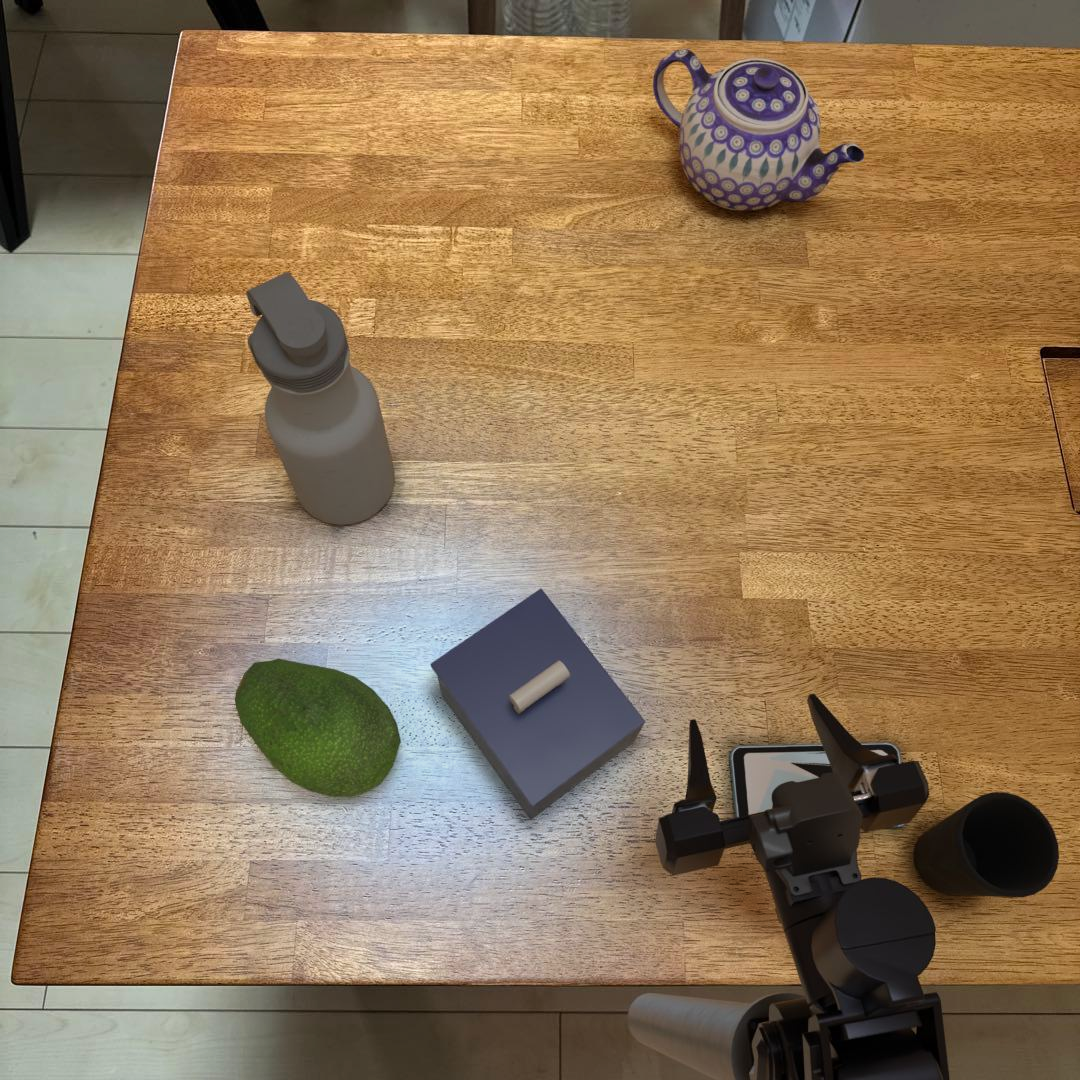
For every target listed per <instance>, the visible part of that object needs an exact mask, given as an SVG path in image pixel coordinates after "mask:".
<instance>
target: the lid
mask: <svg viewBox="0 0 1080 1080" xmlns="http://www.w3.org/2000/svg"><path fill="white" fill-rule="evenodd" d="M429 665H430V668H431V669H432V670H433V672H434V674H435V675H436V677H437V676H438V677H437V679H438V678H439V679H440V680H441V682H442V683H443V684H444V686H445V687H446V689H447V690H448V691H449V693H450V694H451V696H452V697H453V698H454V700H455V701H456V703H457V704H458V705H459V707H460V708H461V710H462V711H463V712H464V714H465V715H466V716H467V718H468V719H469V721H470V722H471V723H472V725H473V726H474V728H475V729H476V730H477V732H478V733H479V735H480V736H481V737H482V739H483V740H484V742H485V743H486V744H487V746H488V747H489V748H490V750H491V751H492V753H493V754H494V755H495V757H496V758H497V760H498V761H499V762H500V764H501V765H502V767H503V768H504V769H505V771H506V772H507V774H508V775H509V776H510V778H511V779H512V780H513V782H514V783H515V785H516V786H517V787H518V789H519V790H520V792H521V793H522V794H523V796H524V797H525V799H526V800H527V801H528V803H529V804H530V806H531V807H532V808H533V807H534V806H536V805H537V804H538V803H540V802H541V801H542V800H544V799H545V798H546V797H548V796H549V795H550V794H552V793H553V792H554V791H556V790H557V789H558V788H560V787H561V786H562V785H564V784H565V783H566V782H568V781H569V780H570V779H572V778H573V777H574V776H576V775H577V774H578V773H580V772H581V771H582V770H584V769H585V768H586V767H588V766H589V765H590V764H592V763H593V762H594V761H596V760H597V759H598V758H600V757H601V756H602V755H604V754H605V753H606V752H608V751H609V750H610V749H612V748H613V747H614V746H616V745H617V744H618V743H620V742H621V741H622V740H624V739H625V738H626V737H628V736H629V735H630V734H632V733H633V732H634V731H636V730H637V729H638V728H640V727H641V726H642V725H643V726H644V725H645V724H646V720H645V719H644V717H643V716H642V715H641V713H640V712H639V711H638V710H637V709H636V707H635V705H633V703H632V702H631V700H630V699H629V698H628V697H627V696H626V694H625V693H624V692H623V690H622V689H621V688H620V687H619V685H618V684H617V683H616V682H615V681H614V679H613V678H612V677H611V675H610V674H609V673H608V671H607V670H606V669H605V667H604V665H602V664H601V662H600V661H599V659H598V658H596V656H595V654H593V652H592V651H591V650H590V649H589V647H588V646H587V645H586V643H585V642H584V641H583V640H582V638H581V637H580V636H579V634H578V633H577V632H576V631H575V629H574V628H573V627H572V625H571V624H570V623H569V621H568V620H567V619H566V617H564V615H563V614H562V613H561V612H560V610H559V609H558V608H557V607H556V605H555V604H554V603H553V601H552V600H551V598H549V596H548V595H547V593H546V592H545V591H544V590H543V588H539V589H538V590H536V591H535V592H533V593H532V594H530V595H529V596H527V597H525V599H523V600H521V601H520V602H518V603H517V604H515V605H514V606H513V607H511V608H510V609H508V610H507V611H506V612H504V613H503V614H501V615H500V616H498V617H497V618H495V619H494V620H492V621H491V622H489V623H488V624H487V625H485V626H483V627H482V628H481V629H479V630H478V631H476V632H475V633H473V634H472V635H470V636H468V638H466V639H464V640H463V641H461V642H460V643H459V644H457V645H456V646H454V647H453V648H451V649H450V650H449V651H447V652H445V653H444V654H443V655H441V656H439V657H438V658H436V659H435V660H434V661H432V662H431V663H430V664H429Z"/></svg>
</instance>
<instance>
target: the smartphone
mask: <svg viewBox="0 0 1080 1080" xmlns="http://www.w3.org/2000/svg"><path fill="white" fill-rule="evenodd" d="M859 743H860V744H862V745H863V746H864V747H865V748H867V749H868V750H870V751H873V752H875V753H877V754H880V755H883V756H885V755H894V756H895V757H896V758H897V759H898V762H897V763H896V764H900V763H902V758H901V753H900V750H899V748H898V747H897V746H896V745H895V744H894V743H891V742H886V741H885V742H883V741H882V742H859ZM729 769H730V777H731V787H732V799H733V809H734V818H737V817H741V816H746V815H750V814H755V813H759V812H764V811H765V810H768V809H772V792H773V791H774V789H775V788H776V787H777V786H779V785H780V784H782V783H785V782H789V781H795V782H801V781H806V780H810V779H815V778H819V777H821V776H822V775H823V774H826V773H832V772H833V770H832V768H831V765H830V763H829V760H828V758H827V755H826V753H825V750H824V748H823V745H822V743H799V744H797V743H796V744H795V743H793V744H752V745H748V744H747V745H738V746H735V747H734V748H733V749H732V750H731V752H730V754H729ZM907 824H908V823H906V824H902V825H897V826H893V827H889V828H888V829H898V828H902V827H904V826H906V825H907Z"/></svg>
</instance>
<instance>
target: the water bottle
mask: <svg viewBox="0 0 1080 1080" xmlns="http://www.w3.org/2000/svg"><path fill="white" fill-rule="evenodd" d="M245 293H246V297H247V301H248V303H249V309H250V311H251V313H252V314H253V316H255V317H256V318H258V317H260V318H259V319H258V320H257V322H256V324H255V326H254V327H253V331H252V332H251V334H250V335H249V336H248V337H247V345H248V348H249V351H250V352H251V355H252V357H253V360H254V363H255V364H256V366H257V367H258V369H259V370H260V372H261V373H262V375H263V378H264V379H265V380H266V381H267V382H268V384H269V385H270V390H269V392H268V393H267V396H266V400H265V404H264V420H265V425H266V428H267V431H268V433H269V436H270V439H271V441H272V443H273V445H274V447H275V449H276V452H277V454H278V457H279V459H280V461H281V464H282V466H283V468H284V471H285V472H286V475H287V477H288V480H289V481H290V484H291V486H292V489H293V491H294V493H295V495H296V498H297V499H298V502H299V504H300V505H301V506H302V508H303V509H304V510H305V511H307V512H308V513H309V514H310V515H311V516H312V517H314V518H316V519H318V520H319V521H321V522H325V523H328V524H331V525H339V526H342V525H352V524H357V523H360V522H362V521H365V520H367V519H370V518H371V517H373V516H374V515H375V514H377V513H378V512H379V511H380V510H381V509H382V508H383V507H384V506H385V505H386V504H387V502H388V501H389V500H390V497H391V495H392V493H393V490H394V486H395V480H396V474H395V473H396V471H395V467H394V463H393V458H392V454H391V450H390V444H389V441H388V436H387V431H386V426H385V423H384V418H383V413H382V409H381V405H380V400H379V396H378V394H377V391H376V389H375V387H374V385H373V384H372V382H371V381H370V380H369V378H368V377H367V376H366V375H365V373H363V372H362V371H360V370H359V369H358V368H357V367H355V366H353V365H351V364H350V359H351V349H350V346H349V342H348V339H347V338H348V337H347V335H346V331H345V326H344V324H343V321H342V319H341V318H340V316H339V315H338V314H337V313H336V311H335V310H334V309H332V308H331V307H330V306H328V305H326V304H325V303H322V302H321V301H317V300H313V299H309V297H308V296H307V294H306V293H305V290H304V289H303V288H302V287H301V285H300V284H299V282H298V281H297V280H296V278H295V277H294V276H293V275H292V274H291V273H290V272H288V271H285V272H283V273H281V274H279V275H277V276H275V277H272V278H271V279H269V280H266V281H264V282H262V283H260V284H258V285H256V286H253V287H251V288H249V289H247V290H246V292H245Z"/></svg>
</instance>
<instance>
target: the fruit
mask: <svg viewBox="0 0 1080 1080" xmlns="http://www.w3.org/2000/svg"><path fill="white" fill-rule="evenodd" d="M234 704H235V708H236V712H237V715H238V718H239V720H240V724H241V725H242V726H243V728H244V729H245V731H246V732H247V734H248V735H249V737H250V738H251V739H252V741H253V742H254V744H255V746H257V749H259V751H260V752H261V753H262V754H263V756H264V757H265V758H266V759H267V760H268V762H269V763H270V764H271V765H272V766H273V767H274V769H275V770H276V771H278V772H279V773H280V774H281V775H282V776H284V777H285V778H286V779H287V780H289V781H290V782H291V783H292V784H295V785H297V786H298V787H300V788H302V789H305V790H307V791H309V792H311V793H315V794H319V795H322V796H327V797H331V798H354V797H358V796H361V795H364V794H366V793H368V792H369V791H372V790H373V789H375V788H377V787H379V786H380V785H381V784H382V783H383V782H384V780H385V779H387V777H388V776H389V774H390V772H391V771H392V769H393V767H394V766H395V763H396V758H397V755H398V752H399V748H400V746H401V741H402V740H401V735H400V732H399V731H400V730H399V727H398V723H397V721H396V718H395V717H394V715H393V713H392V711H391V709H390V707H389V705H387V704H386V702H385V701H384V700H383V699H382V698H381V697H380V696H379V694H377V693H376V691H375V690H374V689H373V688H372V687H370V686H369V685H368V684H366V683H364V682H363V681H362V680H361V679H359V678H358V677H356V676H355V675H352V674H350V673H349V674H348V673H346V672H343V671H342V670H341V671H340V670H338V669H336V668H335V669H334V668H330V667H325V666H319V665H315V664H308V663H302V662H298V661H292V660H287V659H283V658H276V659H271V660H262V661H256V662H253V663H252V664H251V665H250V666H249V668H247V670H246V671H245V672H244V673H243V675H242V677H241V679H240V682H239V683H238V686H237V688H236V690H235V695H234Z"/></svg>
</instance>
